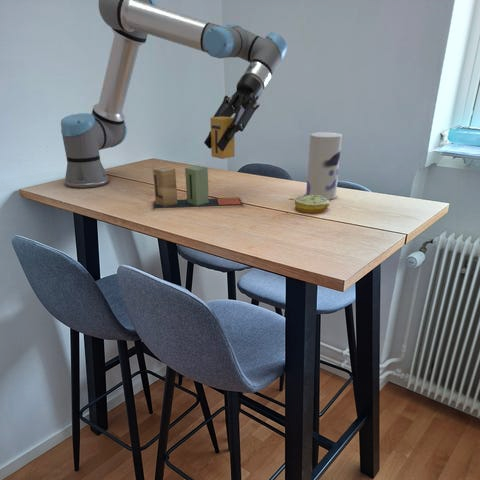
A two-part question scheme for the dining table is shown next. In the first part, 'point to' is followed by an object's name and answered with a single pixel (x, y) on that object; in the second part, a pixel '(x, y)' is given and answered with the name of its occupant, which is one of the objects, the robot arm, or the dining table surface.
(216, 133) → the tall mustard brick
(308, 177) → the container
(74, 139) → the robot arm
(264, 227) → the dining table surface
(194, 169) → the sage I block
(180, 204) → the word mat
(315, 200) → the decorated donut
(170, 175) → the tan tall block
